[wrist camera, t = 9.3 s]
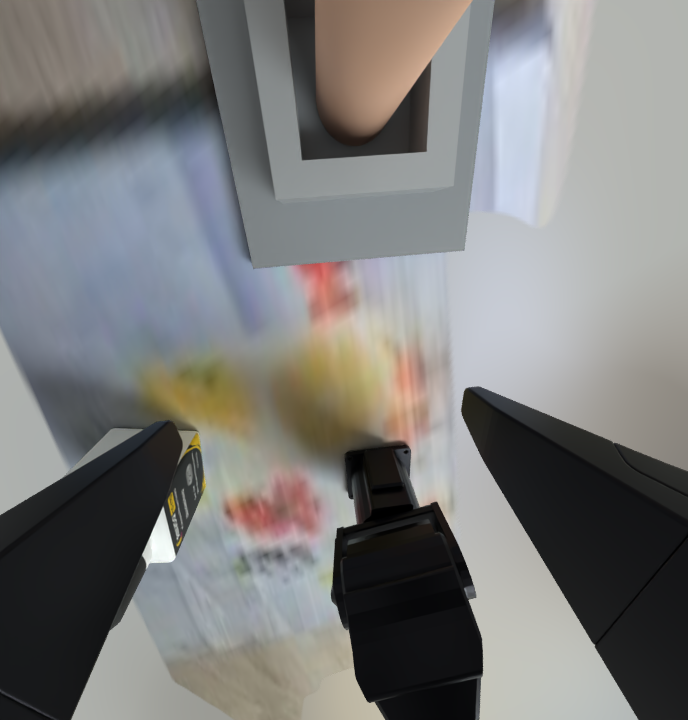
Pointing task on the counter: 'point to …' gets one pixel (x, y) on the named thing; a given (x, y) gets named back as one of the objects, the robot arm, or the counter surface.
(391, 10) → the dowel
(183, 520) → the medicine bottle
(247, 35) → the socket
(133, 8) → the counter surface
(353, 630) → the robot arm
